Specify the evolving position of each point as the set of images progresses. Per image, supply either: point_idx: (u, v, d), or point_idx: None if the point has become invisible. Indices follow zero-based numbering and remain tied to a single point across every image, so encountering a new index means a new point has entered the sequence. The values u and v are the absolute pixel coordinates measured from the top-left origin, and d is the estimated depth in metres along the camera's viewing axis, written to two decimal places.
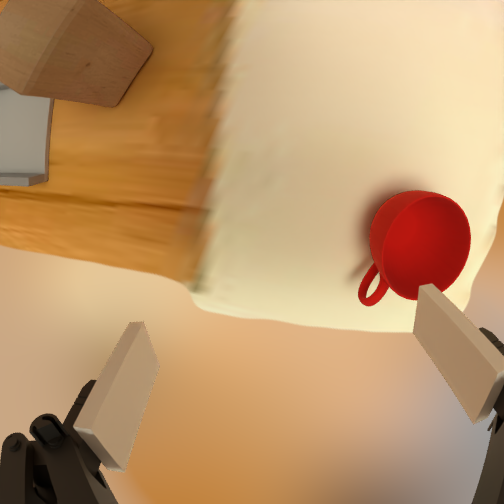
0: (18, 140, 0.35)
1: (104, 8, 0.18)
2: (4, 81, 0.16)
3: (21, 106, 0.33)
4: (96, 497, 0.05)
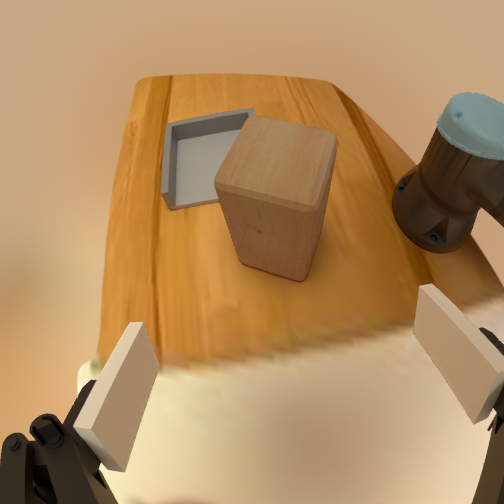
0: (205, 171, 0.52)
1: (311, 229, 0.29)
2: (226, 157, 0.29)
3: None
4: (96, 497, 0.05)
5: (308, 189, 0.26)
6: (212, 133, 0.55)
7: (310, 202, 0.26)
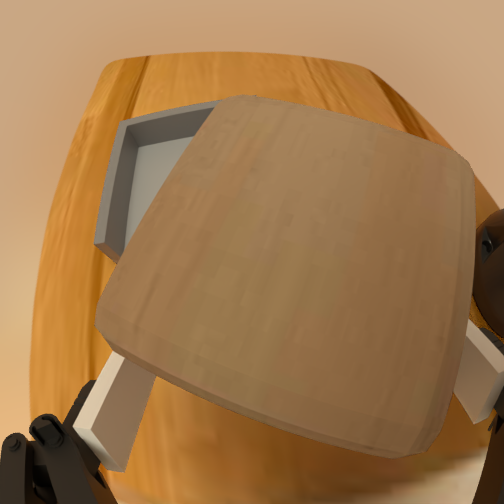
0: None
1: None
2: (135, 237, 0.08)
3: None
4: (96, 497, 0.05)
5: (422, 398, 0.06)
6: (190, 135, 0.35)
7: (419, 443, 0.05)
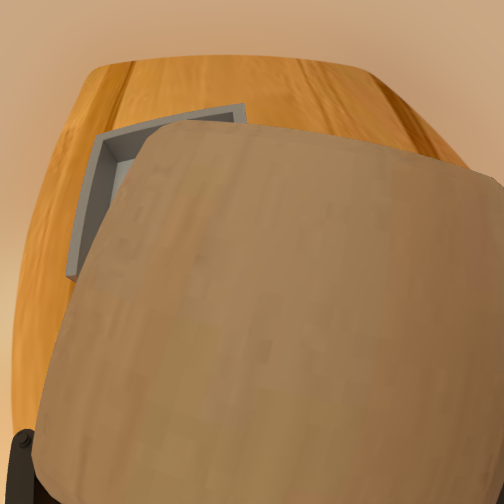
0: None
1: None
2: (52, 370, 0.05)
3: None
4: None
5: None
6: None
7: None
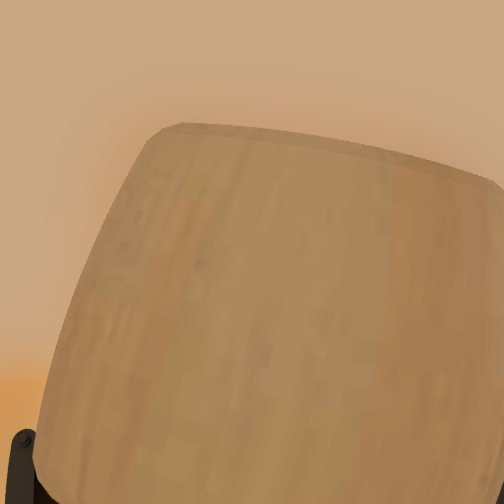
0: None
1: None
2: (52, 373, 0.05)
3: None
4: None
5: None
6: None
7: None
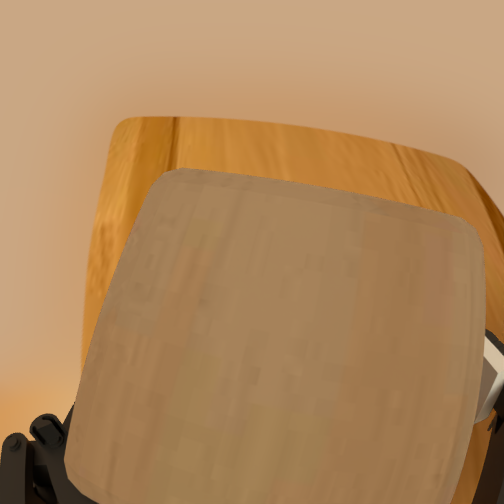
0: None
1: None
2: (81, 390, 0.06)
3: None
4: None
5: None
6: None
7: None
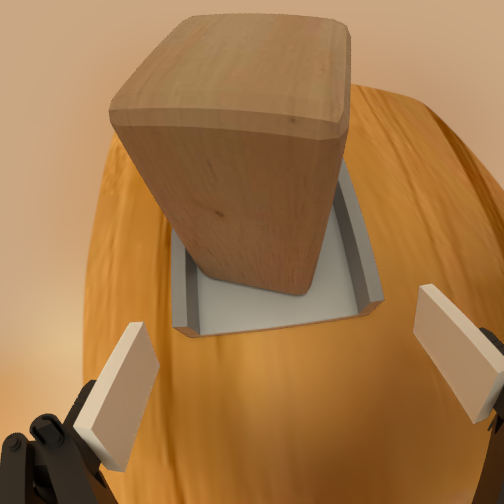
0: None
1: (328, 193, 0.13)
2: (137, 70, 0.12)
3: None
4: (96, 497, 0.05)
5: (318, 89, 0.10)
6: None
7: (328, 114, 0.09)
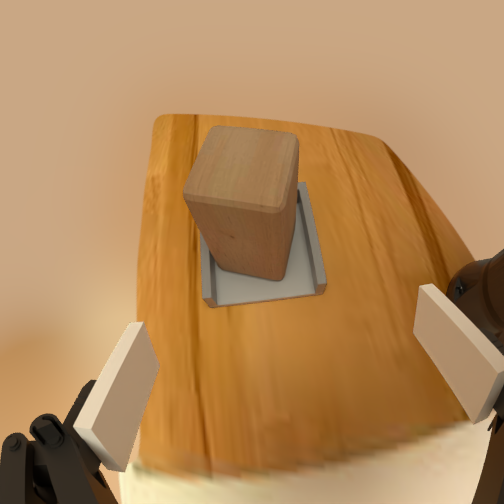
0: None
1: (280, 229, 0.31)
2: (192, 169, 0.30)
3: None
4: (96, 497, 0.05)
5: (272, 191, 0.27)
6: None
7: (275, 203, 0.27)
